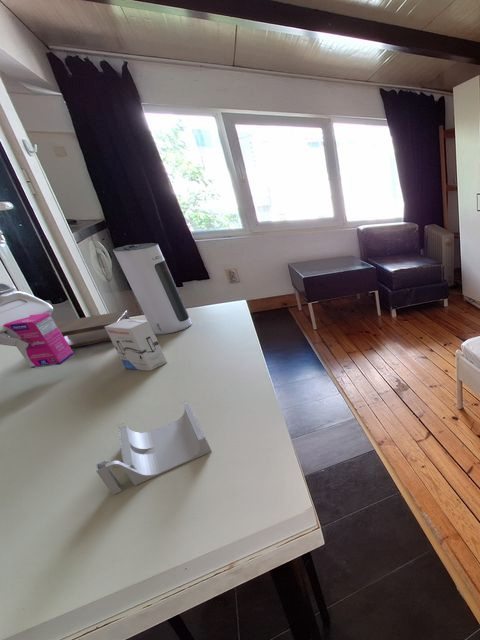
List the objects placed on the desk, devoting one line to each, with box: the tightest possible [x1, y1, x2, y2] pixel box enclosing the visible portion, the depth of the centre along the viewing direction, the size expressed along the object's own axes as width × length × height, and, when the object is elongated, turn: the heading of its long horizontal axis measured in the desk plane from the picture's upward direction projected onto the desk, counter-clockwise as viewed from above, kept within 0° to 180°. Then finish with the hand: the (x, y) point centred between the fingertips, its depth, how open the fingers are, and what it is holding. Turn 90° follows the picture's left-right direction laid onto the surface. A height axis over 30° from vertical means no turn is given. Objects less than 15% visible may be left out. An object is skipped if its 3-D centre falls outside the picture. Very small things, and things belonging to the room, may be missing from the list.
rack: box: [54, 310, 131, 349], centre depth 108 cm, size 18×12×6 cm, turn 119°
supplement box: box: [3, 313, 75, 369], centre depth 86 cm, size 6×6×12 cm
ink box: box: [105, 318, 168, 372], centre depth 91 cm, size 9×5×12 cm, turn 76°
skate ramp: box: [95, 401, 212, 496], centre depth 63 cm, size 15×13×5 cm
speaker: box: [112, 242, 193, 335], centre depth 110 cm, size 11×10×26 cm
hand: (42, 339), depth 86 cm, fingers closed on supplement box, 6 cm apart
